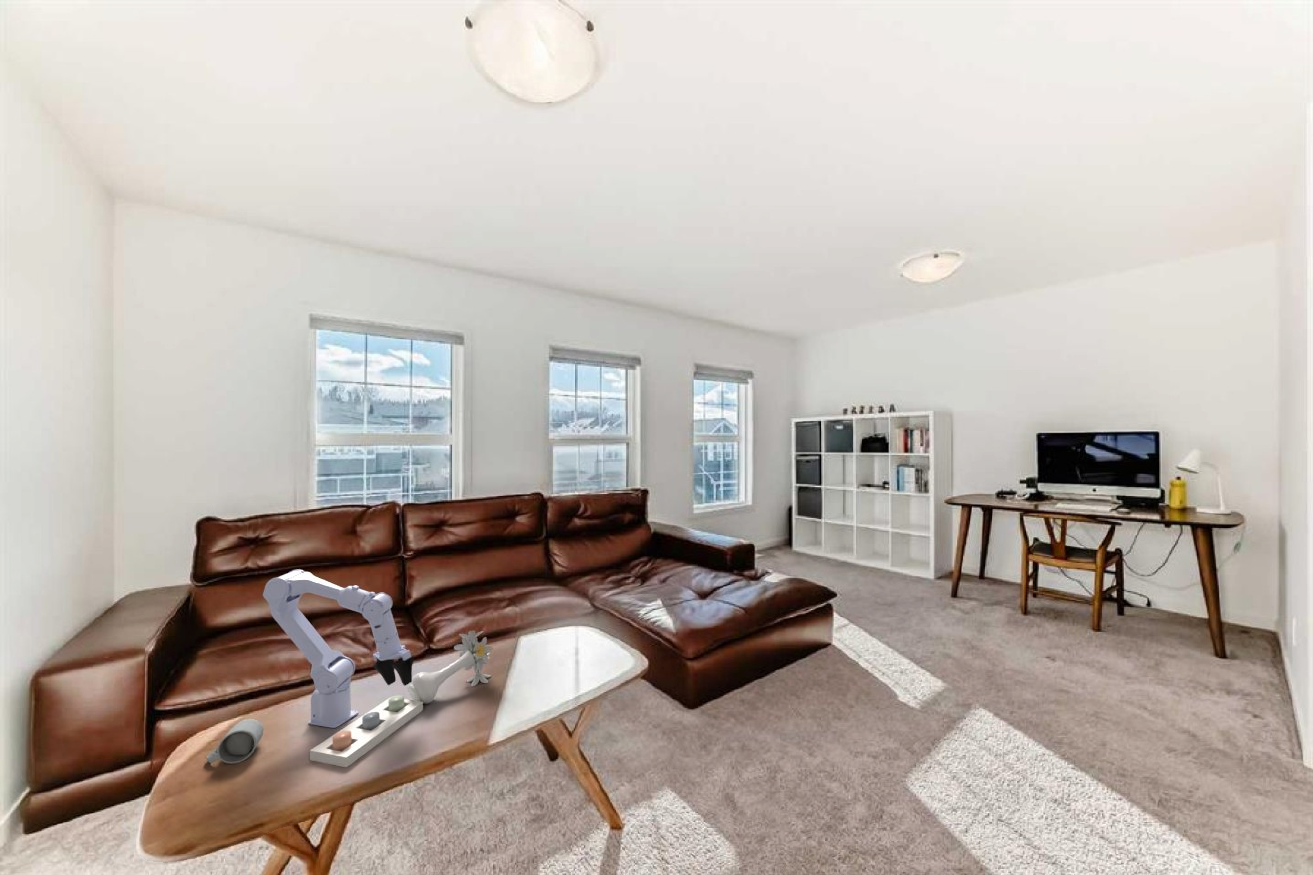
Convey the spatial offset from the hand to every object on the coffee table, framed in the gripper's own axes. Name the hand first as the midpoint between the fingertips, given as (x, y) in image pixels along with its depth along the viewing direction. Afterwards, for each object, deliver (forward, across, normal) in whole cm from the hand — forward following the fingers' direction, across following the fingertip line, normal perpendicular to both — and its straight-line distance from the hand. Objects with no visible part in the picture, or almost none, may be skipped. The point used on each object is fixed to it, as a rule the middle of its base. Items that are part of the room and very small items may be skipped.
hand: (399, 683), depth 143 cm
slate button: (+7, +1, +10) cm, 12 cm away
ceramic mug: (+1, +21, +31) cm, 38 cm away
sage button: (+7, +3, +1) cm, 8 cm away
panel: (+8, +2, +10) cm, 13 cm away
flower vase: (+12, +1, -16) cm, 20 cm away
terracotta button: (+6, -1, +18) cm, 19 cm away
